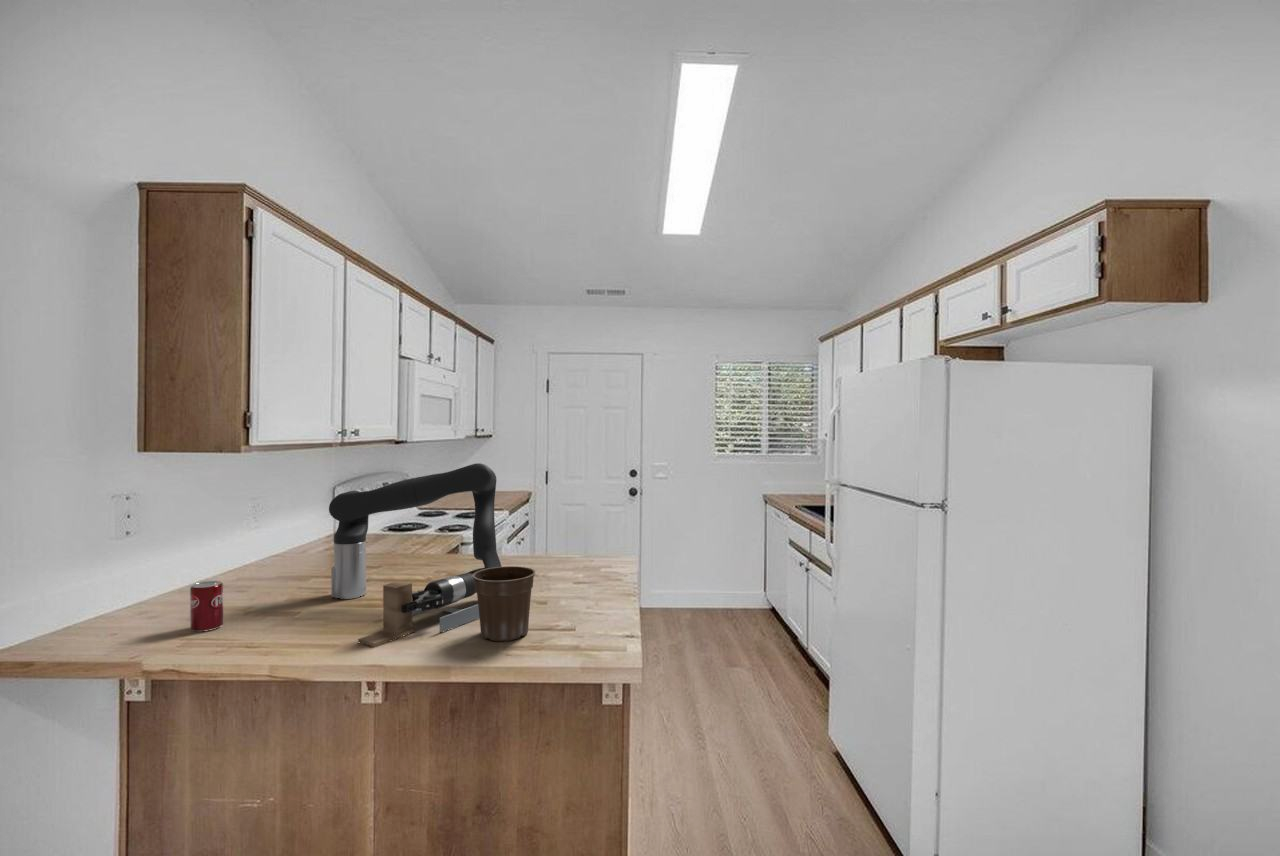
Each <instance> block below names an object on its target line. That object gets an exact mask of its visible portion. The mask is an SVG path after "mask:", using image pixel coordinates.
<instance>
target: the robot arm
mask: <svg viewBox="0 0 1280 856" xmlns="http://www.w3.org/2000/svg"><path fill="white" fill-rule="evenodd" d="M496 488H497V476H496V473H495V472H494V470H493V469H492V468H491V467H489V466H488V465H486V464H485V463H481V462H479V463H472V464H469V465H466V466H462V467H459V468H456V469H452V470H451V471H446V472H445V471H444V472H440V473H433V474H428V475H427V474H426V475H423V476H417V477H412V478H407V479H403V480H400V481H397V482H396V481H395V482H393V483H389V484H386V485H385V486H384V485H383V486H381V487H378V488H374V489H371V490H366V491H365V490H364V491H359V490H350V491H345V492H342V493H339V494H338V495H336V496H335V497H333V499H331V501H330V502H329V506H328V512H329V515H330V516H331V517H332V518H333V519H334V520H336V521H338V527H337V530H336V532H334V535H333V554H334V555H333V556H334V557H333V559H334V560H333V562H334V563H333V564H334V566H332V567H331V572H330V573H331V582H330V583H331V586H330V587H331V592H330V594H331V598H332V597H335V598H334V599H337V598H340V600H349V599H357V598H361V597H363V595H364V596H366V595H367V533H368V531H369V517H370V516H369V515H374V514H377V513H386V512H393V511H400V510H407V509H412V508H417V507H421V506H426V505H429V504H432V503H434V502H437V501H439V500H441V499H442V498H444V497H446V496H449V495H453V494H459V493H467V492H471V493H472V496H473V501H474V519H473V526H472V547H473V557H474V559H476V560H478V561H482V562H483V567H481V568H480V567H479V568H477V569H472V570H470V571H468V572H465V573H461V574H458V575H454V576H448V577H444V578H441V579H437V580H433V581H430V582H429V583H427V584H426V586H425V588H424V589H421V590H417V591H412V602H409V603H406V604H403V605H402V613H407V612H410V611H413V610H420V609H422V611H424V612H426V611H425V610H427V611H430V610H437V609H440V608H443V607H446V606H449V605H452V604H454V603H457V602H459V601H461V600H464V599H467V598H469V597H472V596H473V595H475V594H477V592H476V591H475V582H474V579H473V577H472V575H473V574H474V573H475V572H477V571H480V570H483V569H488V568H494V567H503V566H502V564H501V560H500V557H499V555H498V551H497V550H498V549H497V537H496V536H497V535H496V523H495V521H496V520H495V500H496ZM360 596H361V597H360ZM429 609H430V610H429Z"/></svg>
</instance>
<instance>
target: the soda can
mask: <svg viewBox="0 0 1280 856" xmlns="http://www.w3.org/2000/svg"><path fill="white" fill-rule="evenodd" d="M189 601H190V604H189V605H190V607H189V613H190V614H189V617H190V619H189V620H190V621H189V622H190V623H189V625H190V630H191V631H192V630H193V631H192V632H194V631H205V630H210V629H215V628H217V627H220V626H221V625H222V626H223V625H224V583H223V582H222V581H220V580H208V581H207V580H206V581H200V582H197V583H194V584H192V585H191V586H190V587H189ZM222 626H221V627H222ZM221 627H220V628H221Z"/></svg>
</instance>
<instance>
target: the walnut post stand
mask: <svg viewBox="0 0 1280 856" xmlns="http://www.w3.org/2000/svg"><path fill="white" fill-rule="evenodd" d="M382 586H383V587H382V593H383V594H382V597H383V598H382V607H383V611H382V613H383V614H382V615H383V616H382V617H383V618H382V619H383V625H382V626H383V629H382V630H380V631H377V632H375V633H371V634H369V635H366V636H363V637H360V638H358V641H357V643H358V642H360V643H363V644H362V645H364V644H367V645H366V646H368V645H370V646H369V647H371V646H373V647H372V648H376V647H378V646H377V645H379V646H381V645H380V644H382V643H384V644H386V643H385V642H387V643H389V642H388V641H390V640H392V641H394V640H393V639H395V638H398V637H400V638H402V637H401V636H403V635H406V634H408V633H411V632H413V631H414V628H413V615H412V611H410V612H407V613H402V605H403V604H406V603H409V602H412V592H413V583H412V582H407V581H402V580H397V581H394V582H390V583H387V584H383V585H382ZM411 634H412V633H411ZM406 636H407V635H406ZM403 637H404V636H403ZM398 639H399V638H398ZM395 640H396V639H395ZM390 642H391V641H390ZM360 643H359V644H360ZM382 645H383V644H382ZM375 646H376V647H375Z"/></svg>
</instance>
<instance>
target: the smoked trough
mask: <svg viewBox="0 0 1280 856" xmlns="http://www.w3.org/2000/svg"><path fill="white" fill-rule="evenodd" d="M441 611H442V613H444V612H446V613H445V614H446V615H443V616H441V617H439V633H440V632H443V631H446V630H448V629H451V628H454V627H456V628H458V627H457V626H459V625H461V626H463V625H462V624H464V625H466V624H465V623H467V622H469V623H471V622H470V621H472V622H474V621H477V620H479V619H478V618H479V607H478V603H477V604H475V605H472V606H469V607H466V608H464V609H459V608H454V607H449V608H446V609H442V610H441ZM420 612H421V613H424V612H426V610H425V611H424V612H423V611H422V609H420V610H413V611H412V616H414V615H413V614H415V615H418V614H421V613H420ZM417 613H418V614H417ZM449 613H451V614H449ZM476 619H477V620H476ZM473 620H474V621H473ZM467 624H468V623H467ZM459 627H460V626H459ZM454 629H455V628H454ZM451 630H452V629H451ZM448 631H449V630H448ZM446 632H447V631H446ZM443 633H444V632H443Z"/></svg>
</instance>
